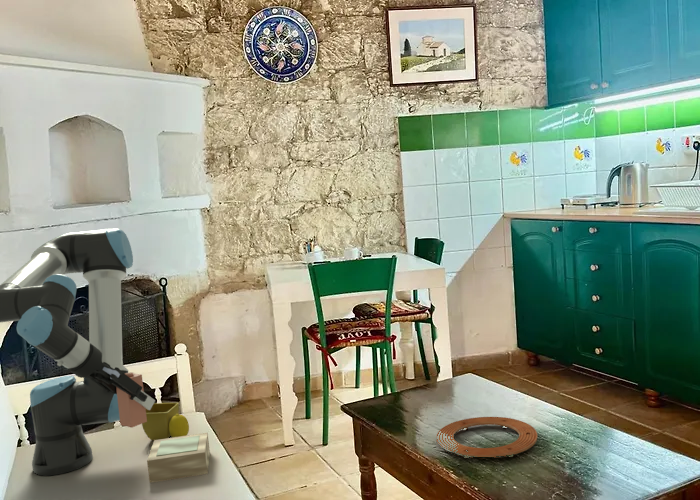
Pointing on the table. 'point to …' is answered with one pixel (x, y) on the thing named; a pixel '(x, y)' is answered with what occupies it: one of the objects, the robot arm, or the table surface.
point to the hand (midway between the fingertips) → (144, 403)
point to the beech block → (178, 457)
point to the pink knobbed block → (131, 405)
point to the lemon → (178, 426)
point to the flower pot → (159, 420)
